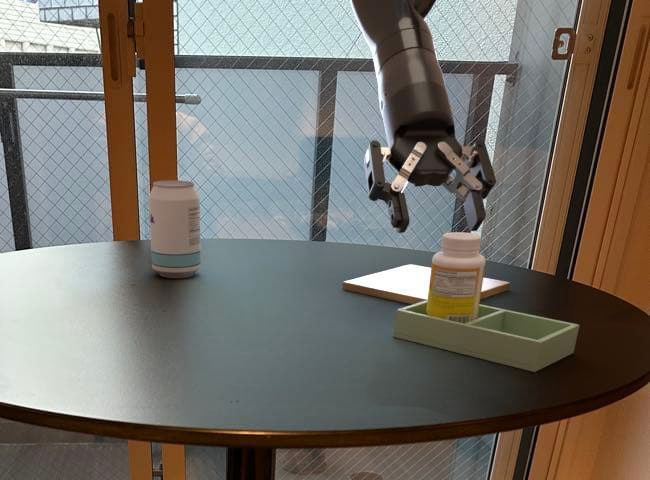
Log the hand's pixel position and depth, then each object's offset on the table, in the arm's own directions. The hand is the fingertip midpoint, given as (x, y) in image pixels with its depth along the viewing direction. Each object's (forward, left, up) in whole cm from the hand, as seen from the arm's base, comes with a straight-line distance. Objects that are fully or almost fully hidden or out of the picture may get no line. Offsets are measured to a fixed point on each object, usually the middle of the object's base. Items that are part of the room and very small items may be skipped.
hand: (440, 227), depth 89 cm
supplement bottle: (+3, +5, -10) cm, 12 cm away
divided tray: (+3, +9, -11) cm, 14 cm away
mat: (-14, -9, -11) cm, 20 cm away
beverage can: (+4, -39, -11) cm, 41 cm away
